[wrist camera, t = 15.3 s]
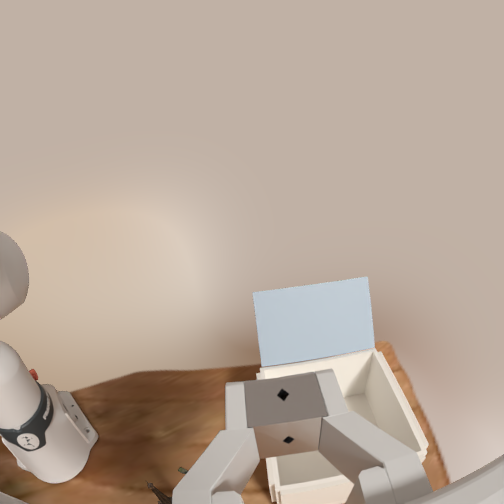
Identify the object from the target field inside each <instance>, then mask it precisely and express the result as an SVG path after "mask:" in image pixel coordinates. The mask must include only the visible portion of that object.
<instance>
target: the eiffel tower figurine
mask: <svg viewBox="0 0 504 504" xmlns="http://www.w3.org/2000/svg"><path fill="white" fill-rule="evenodd" d="M178 471H179V472H181V473H183V474H187V472H188V471H187V470H185V469H183V468H181V467H180V468H179V470H178ZM146 482H147V481H146ZM147 483H148V482H147ZM148 488H150V489H151V490H152V491H153V492H154V493H155V495H156V496H157V497H158V499H159V500H160V501H158V504H172V497H168V496H166V495H164V494H163V493H162V492H160V491H159V490H158V489H157V488H155V487H154V486H153V484H152V483H148Z"/></svg>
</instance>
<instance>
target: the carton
mask: <svg viewBox="0 0 504 504" xmlns="http://www.w3.org/2000/svg"><path fill="white" fill-rule="evenodd" d="M331 368H332V369H333V370H334V373H335V376H336V378H337V381H338V384H339V386H340V389H341V392H342V395H343V398H344V400H345V403H346V406H347V409H348V412H350V411H355V412H356V413H358V414H359V415H360V416H362V417H363V418H365V419H366V420H368V421H369V422H371V423H372V424H374V425H375V426H377V427H378V428H380V429H381V430H383V431H384V432H386V433H387V434H389V435H390V436H392V437H393V438H395V439H396V440H398V441H400V442H401V443H403V444H404V445H406V446H407V447H409V448H411V449H412V450H414V451H415V452H417V454H418V457H419V459H420V461H421V463H422V462H423V461H424V459H425V458H426V457H425V455H426V454H427V450H426V448H427V447H428V445H429V444H428V442H427V440H426V438H425V436H424V434H423V431H422V429H421V427H420V425H419V423H418V421H417V419H416V417H415V415H414V413H413V411H412V409H411V407H410V405H409V403H408V401H407V399H406V397H405V395H404V394H403V392H402V390H401V388H400V386H399V384H398V382H397V380H396V378H395V376H394V374H393V373H392V371H391V369H390V367H389V365H388V363H387V361H386V360H385V358H384V356H383V354H382V352H377V350H376V348H374V349H369V350H365V351H360V352H355V353H350V354H345V355H340V356H335V357H329V358H324V359H318V360H312V361H306V362H299V363H293V364H286V365H279V366H271V367H263V368H260V373H256V376H257V380H261V379H271V378H279V377H283V376H289V375H296V374H302V373H307V372H315V371H320V370H325V369H331ZM318 451H319V450H317V451H311V452H304V453H297V454H290V455H284V456H277V457H270V458H266V464H267V473H268V481H269V488H270V493H271V499H272V502H275V501H277V504H342V503H345V502H346V500H347V498H348V496H349V494H350V492H351V490H352V488H353V486H354V484H353V483H352V482H351V481H350V480H349V479H347V478H346V477H345V476H344V475H343V474H342V473H341V472H340V471H339V470H338V469H336V468H335V467H334V466H333V465H332V464H331V463H330V462H329V461H328V460H327V459H326V458H325V457H324V456H323V455H322V454H321V453H319V452H318Z"/></svg>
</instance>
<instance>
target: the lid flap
mask: <svg viewBox="0 0 504 504" xmlns="http://www.w3.org/2000/svg"><path fill="white" fill-rule="evenodd" d="M253 300H254V308H255V316H256V324H257V332H258V341H259V349H260V357H261V365H262V367H265V366H272V365H280V364H287V363H294V362H300V361H307V360H313V359H319V358H324V357H330V356H335V355H341V354H346V353H351V352H356V351H361V350H365V349H370V348H375V344H374V332H373V320H372V311H371V301H370V292H369V284H368V277H361V278H355V279H348V280H341V281H335V282H328V283H321V284H314V285H306V286H299V287H292V288H284V289H277V290H269V291H261V292H253Z"/></svg>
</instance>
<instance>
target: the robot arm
mask: <svg viewBox="0 0 504 504" xmlns="http://www.w3.org/2000/svg"><path fill="white" fill-rule="evenodd" d="M28 286H29V273H28V267H27V263H26V259H25V257H24V255H23V253H22V251H21V249H20V248H19V246H18V245H17V243H16V242H15V241H14V240H13V239H12V238H11V237H9V236H8V235H6V234H5V233H3V232H0V320H1V319H2V318H4V317H5V316H7V315H8V314H9V313H11V312H12V311H13V310H15V309H16V308H17V307H18V306H20V305H21V304H22V303H24V301H25V298H26V296H27V291H28ZM35 380H38V376H37V373H36V372H35V370H34V369H32V370H30V371H28V370H27V368H26V366H25V364H24V363H23V361H22V360H21V358H20V356H19V355H18V353H17V352H16V351H15V350H14V349H13V348H12V347H11V346H9V345H8V344H6V343H5V342H2V341H0V435H1V436H2V441H3V443H4V444H5V445H6V446H7V448H8V449H9V450H10V451H11V452H12V453H13V454H14V456H15V457H16V458H17V464H18V465H19V466H20V467H21V468H22V469H24V470H27V471H30V472H32V473H33V474H34V475H35V476H36V477H37V478H39V479H40V480H42V481H45V482H48V483H61V482H65V481H68V480H70V479H72V478H73V477H75V476H76V475H77V474H78V473H79V472H80V471H81V470H82V469H83V467H84V466H85V464H86V462H87V459H88V456H89V452H90V450H91V448H92V446H93V445H94V444H95V442H96V441H97V439H98V434H97V432H96V431H95V429H94V428H93V427H92V425H91V424H90V422H89V421H88V419H87V418H86V416H85V415H84V413H83V412H82V410H81V409H80V407H79V406H78V404H77V403H76V401H75V400H74V398H73V397H72V395H71V394H70V393H69V392H67V391H59V392H57V390H56V389H55V387H54V386H52V385H49V384H43V385H40V384H39V383H38V382H37V381H35ZM225 422H226V430H220V431H219V433H218V434H217V435H216V437H215V438H214V439H213V441H212V442H211V443H210V445H209V446H208V447H207V448H206V450H205V451H204V452H203V454H202V455H201V456H200V457H199V459H198V460H197V461H196V462H195V464H194V465H193V466H192V467H191V469H190V470H189V471H188V472H187V474H186V475H185V476H184V477H183V479H182V480H181V481H180V482H179V483H178V485H177V486H176V487H175V488H174V489H173V496H172V504H244V502H243V500H242V497H241V493H242V491H243V489H244V488H245V486H246V484H247V483H248V481H249V479H250V477H251V476H252V474H253V472H254V470H255V468H256V467H257V465H258V463H259V461H260V459H263V458H270V457H277V456H284V455H290V454H297V453H304V452H311V451H317V450H319V451H318V452H319V453H321V454H322V455H323V456H324V457H325V458H326V459H327V460H328V461H329V462H330V463H331V464H332V465H333V466H334V467H335V468H336V469H338V470H339V471H340V472H341V473H342V474H343V475H344V476H345V477H346V478H347V479H349V480H350V481H351V482H352V483H353V484H354V486H353V488H352V490H351V492H350V494H349V496H348V498H347V500H346V502H345V504H504V454H503V455H502V456H500V457H499V458H497V459H495V460H494V461H492V462H490V463H489V464H487V465H485V466H483V467H482V468H480V469H478V470H476V471H474V472H473V473H471V474H469V475H467V476H465V477H463V478H461V479H459V480H457V481H455V482H453V483H451V484H449V485H447V486H445V487H443V488H440V489H438V490H436V491H434V492H433V490H432V488H431V485H430V483H429V480H428V478H427V476H426V473H425V471H424V468H423V466H422V464H421V461H420V459H419V457H418V454H417V452H415V451H414V450H412V449H411V448H409V447H407V446H406V445H404V444H403V443H401V442H400V441H398V440H396V439H395V438H393V437H392V436H390V435H389V434H387V433H386V432H384V431H383V430H381V429H380V428H378V427H377V426H375V425H374V424H372V423H371V422H369V421H368V420H366V419H365V418H363V417H362V416H360V415H359V414H358V413H356V412H355V411H350V412H348V409H347V406H346V403H345V400H344V398H343V395H342V392H341V389H340V386H339V384H338V381H337V378H336V376H335V373H334V370H333V369H332V368H331V369H325V370H320V371H315V372H307V373H302V374H296V375H289V376H283V377H279V378H271V379H261V380H250V381H240V382H228V383H226V386H225ZM89 431H90V432H89ZM88 432H89V433H88ZM0 504H28V503H26V502H23V501H21V500H18V499H16V498H13V497H11V496H9V495H6V494H4V493H2V492H0Z"/></svg>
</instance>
